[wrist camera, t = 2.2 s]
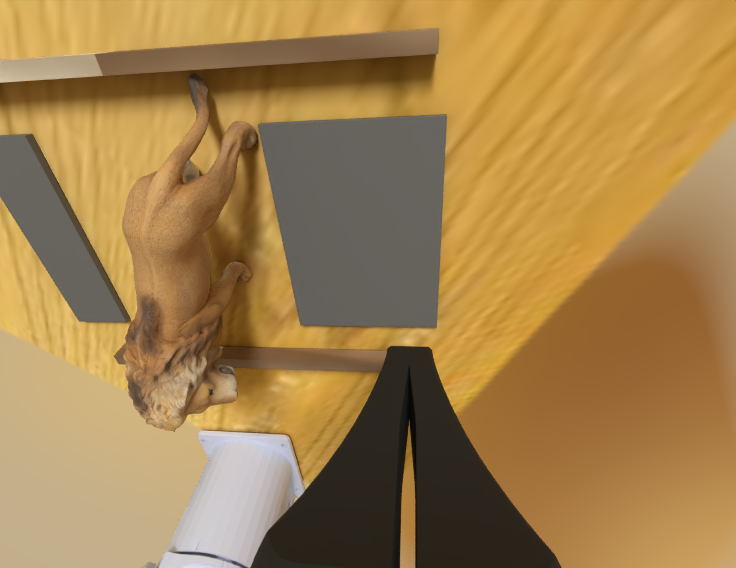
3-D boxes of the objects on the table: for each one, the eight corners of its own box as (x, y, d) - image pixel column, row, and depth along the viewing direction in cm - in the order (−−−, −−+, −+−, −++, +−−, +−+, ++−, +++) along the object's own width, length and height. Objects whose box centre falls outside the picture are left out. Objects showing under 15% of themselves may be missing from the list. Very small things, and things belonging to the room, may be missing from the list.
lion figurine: (277, 327, 25) (221, 454, 18) (198, 318, 26) (111, 439, 18) (255, 77, 17) (133, 123, 10) (138, 65, 17) (-70, 102, 10)
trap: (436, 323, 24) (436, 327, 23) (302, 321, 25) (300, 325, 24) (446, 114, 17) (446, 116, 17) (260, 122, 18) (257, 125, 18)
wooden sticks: (426, 360, 26) (427, 373, 25) (129, 351, 28) (118, 364, 27) (437, 27, 15) (439, 28, 14) (-36, 62, 18) (-63, 65, 17)
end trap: (130, 318, 26) (126, 322, 26) (83, 317, 27) (79, 321, 26) (31, 133, 19) (25, 135, 19) (-29, 136, 20) (-37, 138, 19)
